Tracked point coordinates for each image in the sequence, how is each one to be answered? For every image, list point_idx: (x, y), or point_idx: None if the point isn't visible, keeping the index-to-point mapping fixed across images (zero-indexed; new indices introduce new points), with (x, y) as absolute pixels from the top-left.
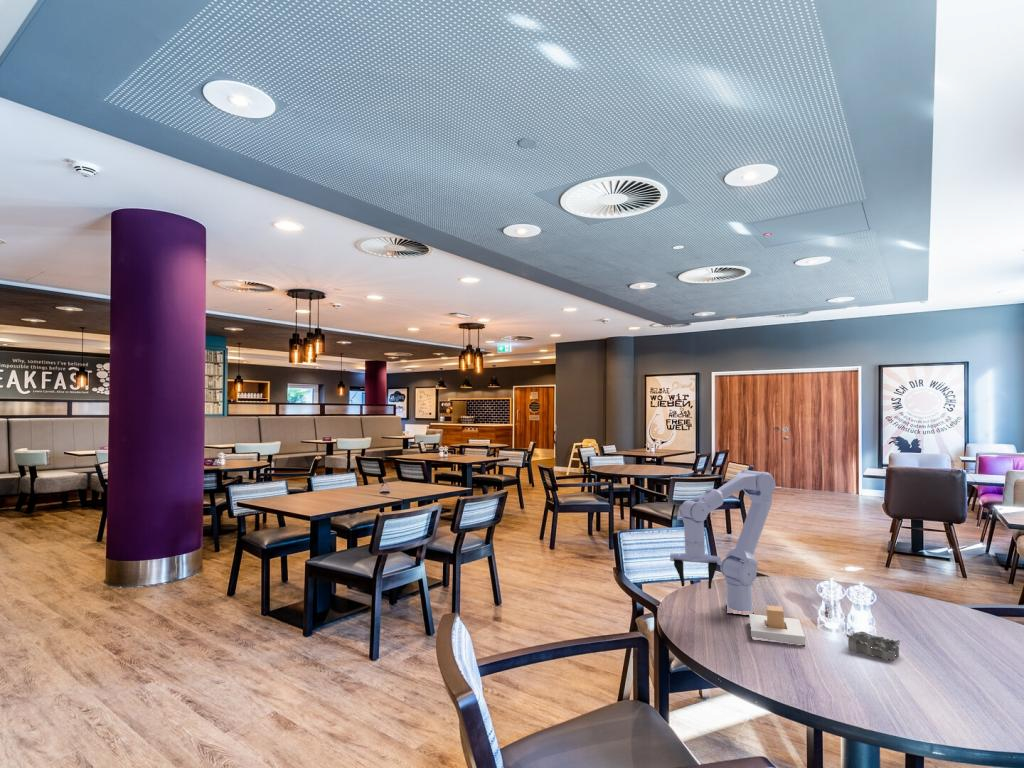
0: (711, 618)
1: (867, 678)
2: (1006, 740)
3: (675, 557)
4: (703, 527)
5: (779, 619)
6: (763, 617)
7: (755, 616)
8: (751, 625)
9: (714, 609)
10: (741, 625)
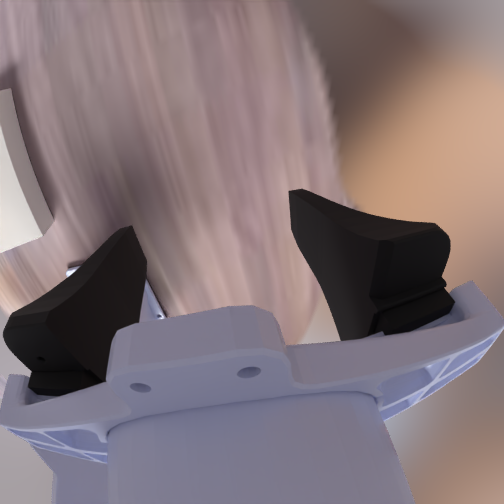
0: (161, 190)
1: None
2: None
3: (465, 322)
4: None
5: None
6: (8, 230)
7: (23, 225)
8: (1, 136)
9: (181, 273)
10: (61, 184)
